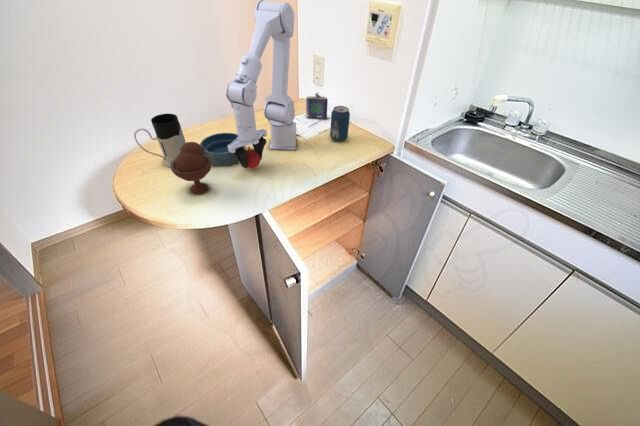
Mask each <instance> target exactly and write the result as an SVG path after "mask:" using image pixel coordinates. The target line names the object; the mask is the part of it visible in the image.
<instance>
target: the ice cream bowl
mask: <svg viewBox="0 0 640 426" xmlns="http://www.w3.org/2000/svg"><path fill="white" fill-rule="evenodd" d="M180 150H181V153H179V155H178V156H177V157H176V159H175V160H173V161H172V162H171V167H170V170H171V171H172V173H173V175H175V176H176V177H177V178H179V179H182V180H183V181H187V182H193V183H194V184H192V185H191V186H190V187H189V193H190V194H192V195H193V196H198V195H203V194H206V193H207V191H208V190H209V185H208V184H207V183H206V182H205V183H204V182H201V180H203V179H204V178H205V177H206V176H207V175H208V174H209V173H210V172H211V169H212V164H211V159H210V156H208V155H205V154H204V151H205V150H204V149H203V148H202V146H201V145H200V143H198V142H195V141H187V142H186V143H185V144H184V145H182V147H181V148H180Z"/></svg>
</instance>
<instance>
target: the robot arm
mask: <svg viewBox="0 0 640 426" xmlns="http://www.w3.org/2000/svg"><path fill="white" fill-rule="evenodd" d="M253 19H254V23H255V25H254V29H253V33H252V37H251V41H250V43H249V44H250V45H249V49H248V52H247V53H245V54H244V55H242V57H241V60H240V62H239V64H238V68H237V71H236V73H235V76H234V79H233V80H232V81H231V82H229V83H228V84H227V86H226V93H225V96H226V99H227V101H228V102H229V103H230V107H231V108H232V110H233V116H234V121H235V127H236V134H238V137H237V138H236V139H235V140H234V141H233V142H232V143H231V144H229V145H228V151H229V152H231V153H234V154H235V155H236V157H237V158H238V160H239V164H240V166H241V168H244V170H245V169H247V168H248V165H247V153H248V151H246V150H247V149H246V150H244V148H243V146H246V147H247V146H250V145H252V149H253V150H255V151H256V152H257V153H258V154H259V156H260V161H261V160H262V158H263V153H264V149H265V147H266V144H267V139H266V138H265V137H267V136H268V133H267V132H268V131H267V130H266V129H264V128H261V129H258V130H257V123H256V116H255V107H254V103H255V102H256V99H257V95H258V94H257V91H258V90H257V89H258V84H257V83H258V80H259V76H260V74H261V71H262V68H263V64H262V61H261V59H262V56H263V54H264V52H265V50H266V48H267V46H268V43H269V41H270V38H272V40H273V43H272V47H273V49H272V77H271V78H272V79H271V93H270V94H269V95H268V96H267V97H265V102H264V107H263V116H264V118H265V119H266V120H267V123H269V128H270V139H271V142H270V145H269V149H270V150H288V151H289V150H290V151H293V150H294V151H295V150H296V148H297V142H298V137H297V122H296V121H294V120H295V117H296V110H295V101H294V100H293V99H292V97H291V96H290V95H289V94H288V89H289V87H288V86H289V70H290V53H291V38H292V37H294V29H295V12H294V10H293V7H292V5H291V4H290V3H289V2H277V1H267V0H258V1H257V2H256V3H255V8H254V12H253Z"/></svg>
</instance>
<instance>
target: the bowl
mask: <svg viewBox="0 0 640 426" xmlns="http://www.w3.org/2000/svg"><path fill="white" fill-rule="evenodd" d="M237 137H238V133H233V132H218V133H214V134H211V135H209V136H206V137H204V138H203V139H202V140H201V141H200V143H199V144H200V145H201V146H202V148H203V149H204V150H205V151H204V154H205V155H208V156H210V159H211V166H222V167H223V166H230V165H233V164H237V163H238V162H239V160H238V158H237V157H236V155H235V154H234V153H231V152H229V151H228V145H229V144H231V143H232V142H233V141H234V140H235V139H236V138H237ZM243 148H244V150H247V145H246V146H243ZM239 163H240V162H239Z"/></svg>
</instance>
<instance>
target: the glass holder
mask: <svg viewBox="0 0 640 426" xmlns="http://www.w3.org/2000/svg"><path fill="white" fill-rule="evenodd" d="M150 122H151V124H152V128H153V130H154V132H155V136H156V137H153V136H152V134H151V133H150V132H149V130H147V129H146V128H138V129H136V130H135V131H134V133H133V137H134V141H135V142H136V144H137V145H138V147H140V148H141V150H143V151H144V152H145V153H148V154H151V155H154V156H157V157H160V158H162V159H163V160H164V165H166V166H167V167H168V168H171V162H172V161H173V160H175V159H176V157H177V156H178V155H179V153H181V150H180V148H181V147H182V145H184V144H185V143H187V142H186V139H185V136H184V131H183V128H182V125H181V123H180V121H179V118H178V115H176V114H175V113H174V114H173V113H160V114H157V115H155V116H153V117H152V118H151V119H150ZM140 131H144V132H146V133H147V134H148V136H149V138H150V139H151V140H153V141H155V140H157V142H158V145H159V147H160V150H161V153H162V155H161V154H158V153H154V152H151V151H149V150H147V149H145V148H144V147H143V146H142V145H141V144H140V142H138V139H137V133H138V132H140Z"/></svg>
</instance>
